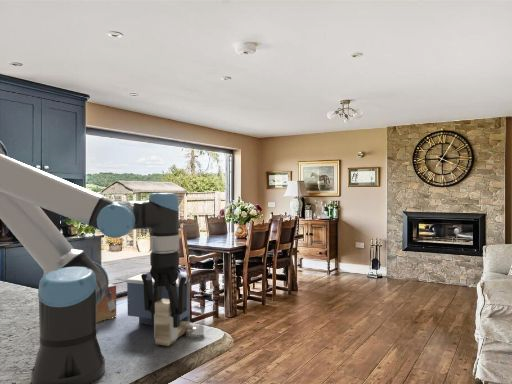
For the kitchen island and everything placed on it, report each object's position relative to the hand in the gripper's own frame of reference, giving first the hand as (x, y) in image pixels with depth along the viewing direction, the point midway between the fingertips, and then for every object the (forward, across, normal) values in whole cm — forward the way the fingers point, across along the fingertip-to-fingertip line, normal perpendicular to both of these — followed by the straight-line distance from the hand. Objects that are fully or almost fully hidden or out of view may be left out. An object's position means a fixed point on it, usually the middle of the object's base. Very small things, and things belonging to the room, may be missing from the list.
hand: (165, 337), depth 110 cm
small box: (+2, +31, -12) cm, 34 cm away
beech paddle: (+1, 0, -4) cm, 5 cm away
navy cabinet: (+2, +9, -10) cm, 14 cm away
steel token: (+2, -4, -9) cm, 10 cm away
